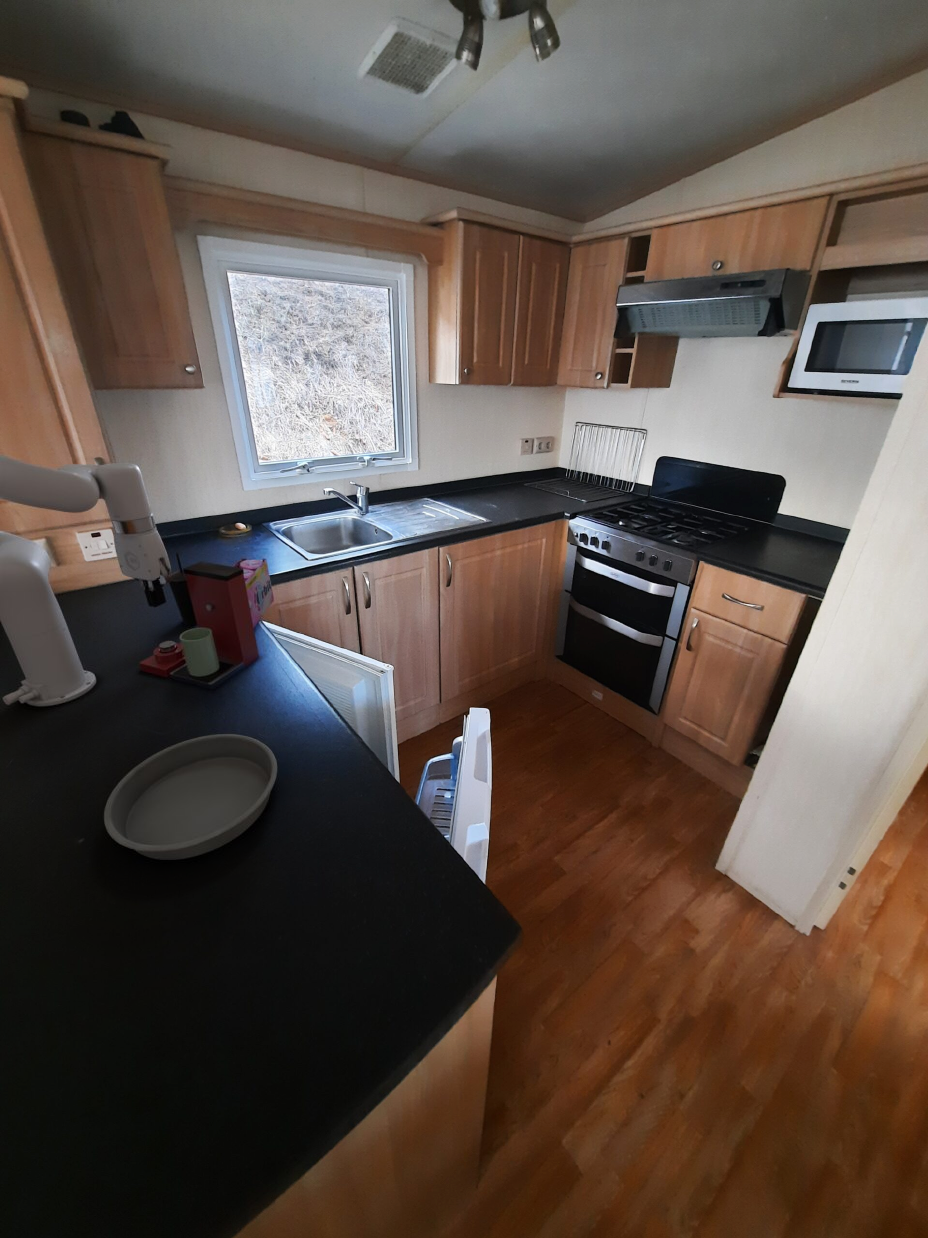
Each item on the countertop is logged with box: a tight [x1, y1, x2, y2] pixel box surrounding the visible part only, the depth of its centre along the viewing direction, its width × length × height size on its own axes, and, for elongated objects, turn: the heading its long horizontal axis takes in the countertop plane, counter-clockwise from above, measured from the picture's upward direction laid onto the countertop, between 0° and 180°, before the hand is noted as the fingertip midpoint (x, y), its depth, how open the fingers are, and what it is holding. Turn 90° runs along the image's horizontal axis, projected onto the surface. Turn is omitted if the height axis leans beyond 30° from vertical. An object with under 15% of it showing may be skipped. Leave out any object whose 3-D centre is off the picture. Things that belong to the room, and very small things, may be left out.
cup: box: [179, 627, 220, 676], centre depth 114 cm, size 6×6×9 cm
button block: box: [138, 642, 186, 678], centre depth 120 cm, size 10×8×4 cm
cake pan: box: [103, 733, 278, 861], centre depth 81 cm, size 25×25×4 cm
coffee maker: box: [169, 561, 260, 690], centre depth 114 cm, size 15×12×23 cm
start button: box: [158, 640, 176, 654], centre depth 119 cm, size 3×3×2 cm
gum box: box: [232, 557, 275, 628], centre depth 141 cm, size 24×8×14 cm, turn 2°
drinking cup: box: [168, 552, 197, 626], centre depth 136 cm, size 8×8×20 cm
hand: (157, 604), depth 114 cm, fingers closed
